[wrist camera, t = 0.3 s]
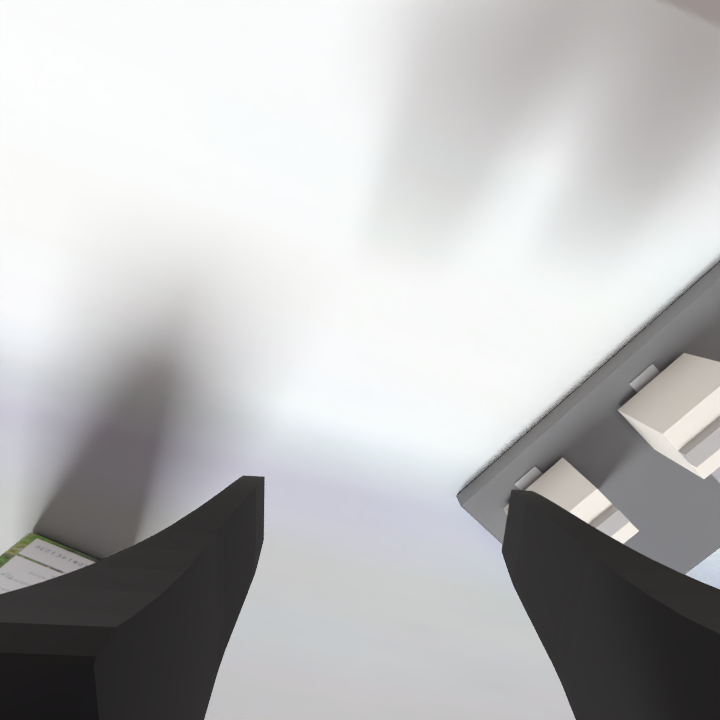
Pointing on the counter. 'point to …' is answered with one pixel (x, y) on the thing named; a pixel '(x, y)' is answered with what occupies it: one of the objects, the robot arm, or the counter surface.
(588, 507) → the block
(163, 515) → the counter surface
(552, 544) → the robot arm
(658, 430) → the middle slider
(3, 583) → the syrup box
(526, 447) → the switch panel
